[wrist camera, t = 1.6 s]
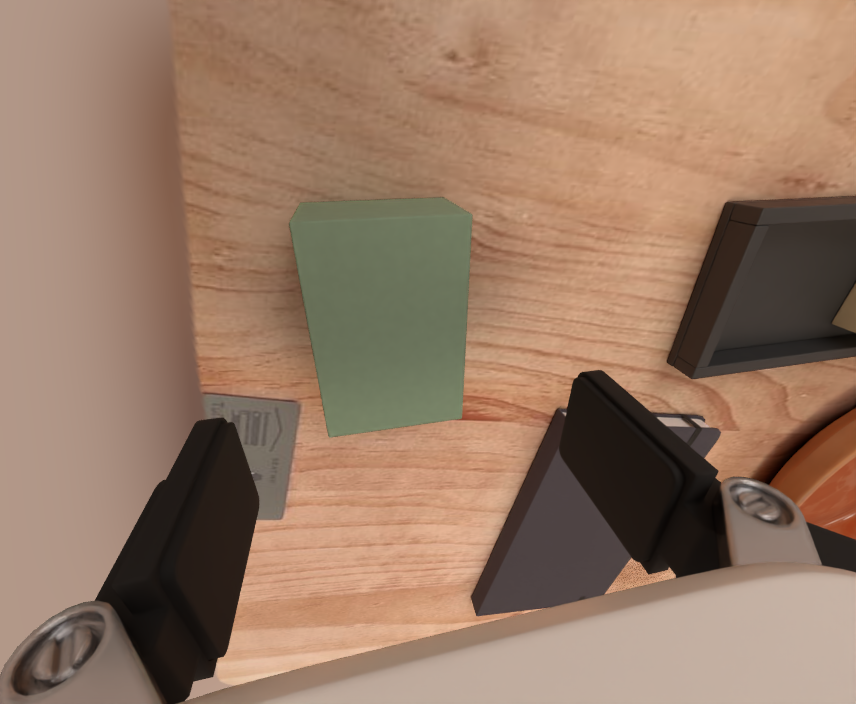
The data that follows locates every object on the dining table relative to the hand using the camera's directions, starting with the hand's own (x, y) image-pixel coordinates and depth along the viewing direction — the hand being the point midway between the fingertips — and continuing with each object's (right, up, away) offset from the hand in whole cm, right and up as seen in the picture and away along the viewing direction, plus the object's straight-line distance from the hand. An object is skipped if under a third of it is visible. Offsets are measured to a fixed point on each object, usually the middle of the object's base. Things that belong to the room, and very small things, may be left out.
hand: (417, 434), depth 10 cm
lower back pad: (-2, +5, +7) cm, 9 cm away
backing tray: (+26, +7, +13) cm, 30 cm away
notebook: (+12, -11, +20) cm, 26 cm away
